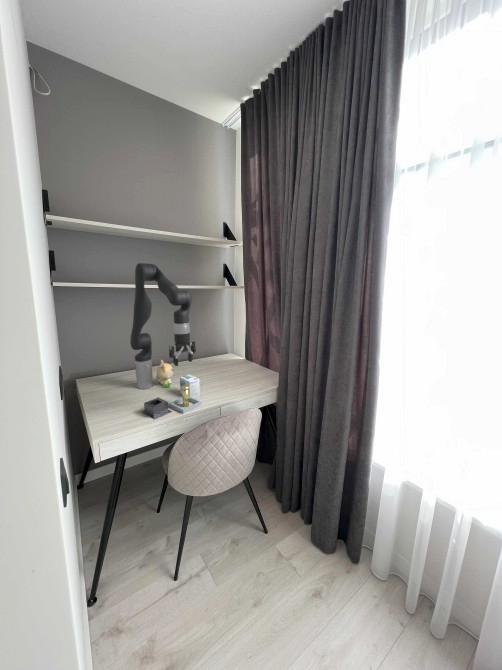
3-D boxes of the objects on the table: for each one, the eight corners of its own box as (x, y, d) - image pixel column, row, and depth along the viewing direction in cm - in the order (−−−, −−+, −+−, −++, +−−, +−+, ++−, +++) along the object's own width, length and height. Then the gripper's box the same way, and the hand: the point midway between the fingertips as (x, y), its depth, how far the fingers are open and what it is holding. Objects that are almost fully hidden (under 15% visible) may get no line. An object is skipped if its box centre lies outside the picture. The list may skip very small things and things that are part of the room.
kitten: (176, 387, 167) (175, 363, 163) (159, 390, 162) (158, 366, 159) (171, 379, 180) (170, 357, 176) (156, 381, 175) (154, 359, 172)
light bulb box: (180, 394, 156) (179, 376, 154) (190, 391, 161) (189, 373, 159) (190, 400, 149) (189, 381, 146) (200, 396, 153) (199, 378, 151)
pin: (180, 406, 140) (179, 386, 138) (186, 403, 143) (185, 384, 141) (185, 409, 137) (184, 388, 135) (191, 406, 141) (191, 386, 138)
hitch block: (140, 413, 134) (139, 402, 133) (158, 406, 141) (158, 395, 140) (154, 421, 126) (153, 409, 125) (172, 413, 134) (171, 402, 133)
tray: (169, 408, 139) (169, 403, 139) (187, 400, 148) (187, 395, 148) (183, 415, 132) (183, 409, 132) (201, 406, 141) (201, 401, 140)
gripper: (188, 328, 140) (190, 358, 143) (164, 333, 129) (166, 365, 132) (198, 330, 135) (199, 361, 139) (174, 335, 124) (176, 368, 128)
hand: (183, 363), depth 135 cm, fingers open, 8 cm apart
